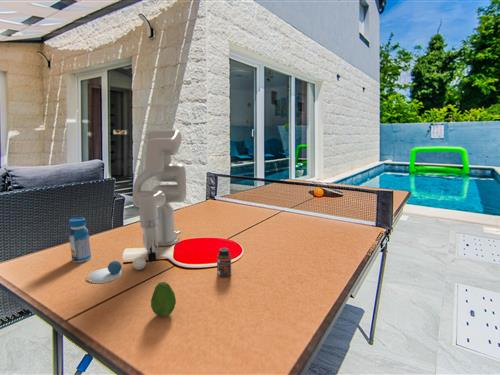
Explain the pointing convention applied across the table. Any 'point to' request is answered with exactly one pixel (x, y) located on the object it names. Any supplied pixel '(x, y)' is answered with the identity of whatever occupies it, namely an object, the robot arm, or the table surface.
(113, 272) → the object ball
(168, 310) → the avocado
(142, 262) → the cue ball
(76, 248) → the blue medicine bottle
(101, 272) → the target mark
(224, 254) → the supplement bottle
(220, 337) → the table surface
